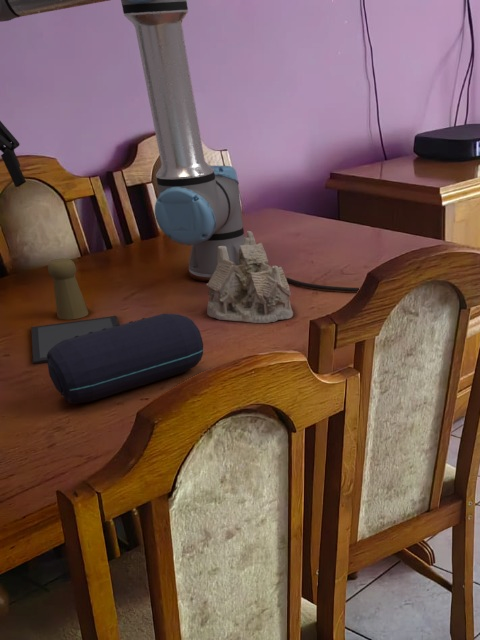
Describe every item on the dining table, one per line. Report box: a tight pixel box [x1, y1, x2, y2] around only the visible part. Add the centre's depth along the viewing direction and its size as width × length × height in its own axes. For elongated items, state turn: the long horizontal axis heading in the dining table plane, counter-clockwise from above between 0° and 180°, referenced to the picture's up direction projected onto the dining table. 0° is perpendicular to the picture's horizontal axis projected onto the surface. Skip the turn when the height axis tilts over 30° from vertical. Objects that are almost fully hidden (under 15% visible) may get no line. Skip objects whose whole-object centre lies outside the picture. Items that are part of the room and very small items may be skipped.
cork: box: [47, 258, 89, 321], centre depth 167 cm, size 6×6×11 cm
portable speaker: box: [47, 313, 204, 405], centre depth 136 cm, size 25×10×10 cm, turn 133°
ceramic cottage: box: [206, 230, 294, 324], centre depth 165 cm, size 16×16×15 cm
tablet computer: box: [30, 315, 120, 365], centre depth 158 cm, size 16×20×1 cm
